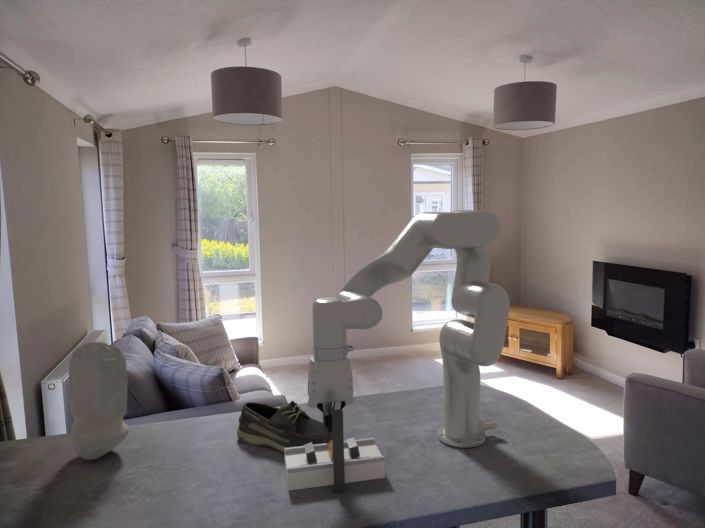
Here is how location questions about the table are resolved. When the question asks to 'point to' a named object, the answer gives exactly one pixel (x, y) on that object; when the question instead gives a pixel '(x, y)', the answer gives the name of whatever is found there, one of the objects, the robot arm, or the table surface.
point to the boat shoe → (278, 426)
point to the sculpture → (97, 398)
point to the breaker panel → (322, 469)
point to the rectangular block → (331, 448)
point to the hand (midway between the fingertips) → (331, 429)
